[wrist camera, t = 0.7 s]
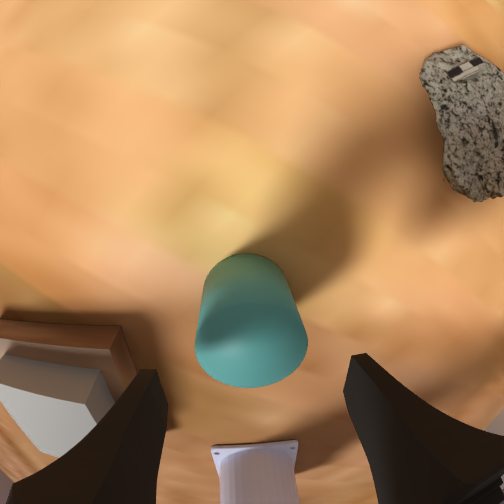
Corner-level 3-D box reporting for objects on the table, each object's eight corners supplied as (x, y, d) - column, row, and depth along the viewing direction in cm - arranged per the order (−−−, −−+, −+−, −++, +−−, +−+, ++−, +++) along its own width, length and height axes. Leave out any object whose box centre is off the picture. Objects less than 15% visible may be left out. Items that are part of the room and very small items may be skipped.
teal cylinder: (286, 324, 18) (303, 382, 13) (208, 329, 17) (203, 389, 13) (288, 251, 16) (311, 298, 11) (198, 256, 16) (187, 306, 11)
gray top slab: (137, 444, 19) (131, 474, 16) (50, 427, 18) (40, 451, 15) (100, 369, 15) (84, 404, 13) (4, 353, 15) (-14, 378, 12)
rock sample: (478, -14, 6) (599, 115, 4) (488, 51, 12) (564, 149, 9) (356, 81, 13) (459, 227, 10) (397, 122, 18) (464, 225, 16)
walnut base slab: (163, 427, 22) (159, 453, 19) (55, 412, 21) (46, 433, 19) (123, 320, 18) (109, 349, 15) (2, 315, 17) (-17, 335, 14)
